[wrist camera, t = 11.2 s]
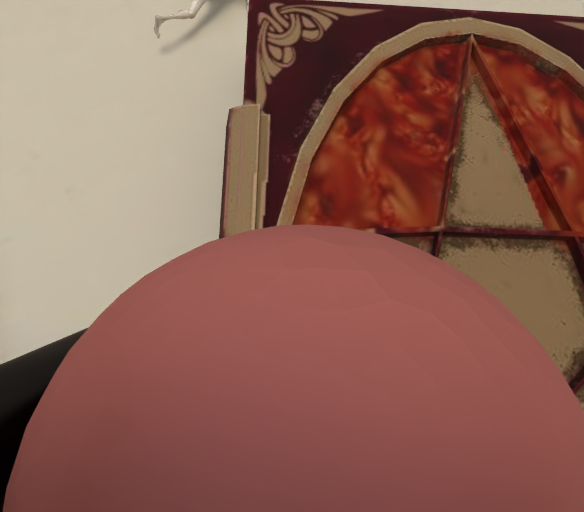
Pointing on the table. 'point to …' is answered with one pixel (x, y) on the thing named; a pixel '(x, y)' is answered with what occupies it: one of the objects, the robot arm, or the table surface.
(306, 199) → the book
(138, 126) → the table surface
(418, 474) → the pink screw bulb
